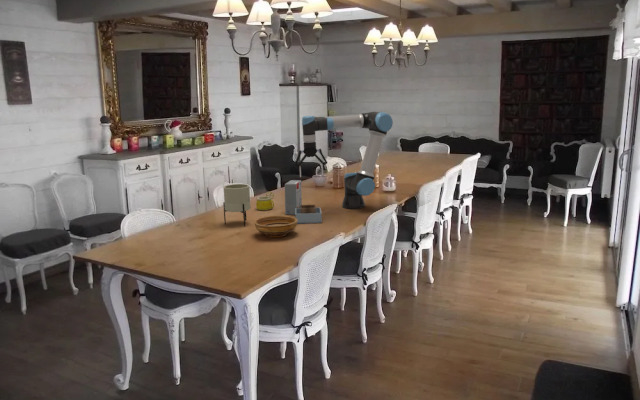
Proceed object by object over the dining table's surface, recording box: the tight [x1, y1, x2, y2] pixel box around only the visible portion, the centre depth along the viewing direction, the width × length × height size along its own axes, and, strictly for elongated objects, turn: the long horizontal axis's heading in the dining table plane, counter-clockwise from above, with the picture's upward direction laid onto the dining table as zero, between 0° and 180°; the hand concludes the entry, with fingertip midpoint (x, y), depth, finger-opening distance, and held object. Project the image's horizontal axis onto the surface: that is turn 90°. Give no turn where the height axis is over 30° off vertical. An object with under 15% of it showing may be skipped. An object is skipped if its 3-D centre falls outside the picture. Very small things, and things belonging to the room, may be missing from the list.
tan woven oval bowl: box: [253, 215, 298, 238], centre depth 297 cm, size 30×24×8 cm
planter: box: [223, 183, 251, 227], centre depth 321 cm, size 15×16×23 cm
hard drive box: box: [284, 179, 303, 216], centre depth 347 cm, size 16×8×20 cm, turn 168°
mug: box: [255, 191, 275, 211], centre depth 358 cm, size 13×11×12 cm
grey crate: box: [294, 207, 323, 225], centre depth 327 cm, size 16×16×6 cm
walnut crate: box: [301, 204, 317, 214], centre depth 326 cm, size 9×9×8 cm
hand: (311, 176), depth 330 cm, fingers open, 13 cm apart
